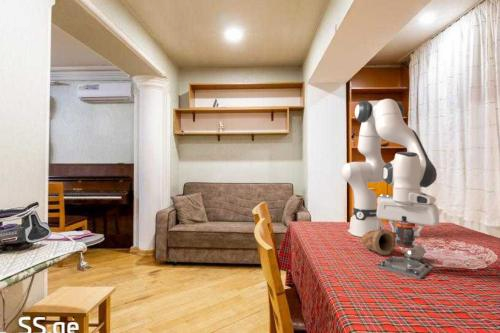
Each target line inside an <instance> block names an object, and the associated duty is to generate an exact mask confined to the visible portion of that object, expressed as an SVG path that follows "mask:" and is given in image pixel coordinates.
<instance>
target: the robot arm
mask: <svg viewBox="0 0 500 333" xmlns="http://www.w3.org/2000/svg"><path fill="white" fill-rule="evenodd" d="M404 112H405V107H404V105H403V103H402V102H399V101H395V100H394V99H391V98H384V99H380V100H362V101H359V102H358V103H357V104H356V105H355V108H354V116H355V119H356V121H357V122H359V123H361V124H360V127H359V128H360V129H359V134H358V142H357V151H358V152H359V153H360V154H361V155H363V156H364V157H365V161H351V162H346V163H345V164H344V165H343V166H342V168H341V175H342V178H343V179H344V181H346V182H347V183H348V184H349V186H350V187H351V189H352V192H353V193H352V194H353V201H354V203H353V209H352V216H351V217H350V224H349V228H348V229H347V232H348V233H349V234H350V235H353V236H356V237H358V238H359V237H360V238H362V236H363V235H364V234H365V233H366V232H369V231H372V230H378V229H379V230H382V229H384V226H383V225H384V224H383V221H382V220H387V221H388V224H389V226H390V227H391V228H392V229H391V233H392V234H393V233H394V234H396V230H397V226H396V225H395V223H396V222H397V221H402V219H401V218H402V216H406V217H407V220H406V221H408V222H409V223H415V225H416V224H417V228H418V229H417V230H415V231H414V236H415V237H418V238H419V237H420V236H421V231H422V230H423V228H424V226H430V227H436V226H438V225H439V224H440V212H439V208H438V206H437V204H435V203H437V202H436V201H437V200H436V197H435V196H432V195H430V194H427V193H424V192H421V190H422V189H421V188H428V187H429V186H430V187H431V185H433V184H434V183H435V182H436V181H437V175H438V174H437V169H436V167H435V165H434V164H433V162H432V161H431V159H430V158H429V157H428V154H427V152H426V150H425V148H424V146H423V143H422V142H421V140H420V138H419V136H418V133H417V132H416V131H415V130H414V129H412V128H411V127H409V126H408V125H407V124H406V122H405V120H404V119H403V117H404V114H405V113H404ZM382 140H384V141H387V142H390V143H395V144H398V145H401V146H403V147H404V148H406V149H407V150H408V151H398V152H396V153H395V155H394V157H393V158H394V159H392V160H391V161H388V162H385V161H384V159H383V157H382V153H381V152H382V151H381V148H382V147H381V146H382ZM382 182H385V183H386V184H387V185H390V186H392V194H385V193H384V194H380V195H378V197H377V194H376V193H375V191H373V190H372V189H370V188H369V186H368V183H382Z"/></svg>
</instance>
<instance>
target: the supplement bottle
mask: <svg viewBox="0 0 500 333" xmlns="http://www.w3.org/2000/svg"><path fill="white" fill-rule="evenodd" d="M401 219H402V221H396V228H397V230H396V233H395V235H396V236H395V241H396V243H395V246H398V247H399V248H403V249H411V248H414V247H415V246H416V245H415V244H416V238H415V237H416V236H414V231H416V224H415V223H409V222H408V221H406V220H407V217H406V216H402V218H401Z"/></svg>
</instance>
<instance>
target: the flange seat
mask: <svg viewBox="0 0 500 333" xmlns="http://www.w3.org/2000/svg"><path fill="white" fill-rule="evenodd" d="M425 253H426V254H427V251H426V249H425V248H424V247H423V246H421V245H415V247H414V248H409V249H408V250H406V251H405V252H404V255H403V257H397V256H396V255H392V256H390V257H388V258H387V259H385V260H384V261H382V262H380V263H378V264H377V266H376V268H378V269H382V270H384V271H388V272H392V273H396V274H400V275H403V276H408V277H411V278H415V279H417V280H421V279H422V278H423V277H425V275H427V274H428V273H429V272H430V271H431V270H432V269H433V266H432V265H430V264H429V263H426V262H424V264H423V263H422V262H421V260H422V259H424V258H423V256H424V254H425Z"/></svg>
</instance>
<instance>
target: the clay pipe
mask: <svg viewBox="0 0 500 333" xmlns="http://www.w3.org/2000/svg"><path fill="white" fill-rule="evenodd" d="M360 238H361V240H360V241H361V242H362V244H363V245H365V247H366V248H367V249H368V250H371V252H374V253H378V254H379V255H381V256H388V255H390V254H392V252H393V251H394V250H395V247H396V236H395V235H394V234H393V232H392V231H389V230H388V229H384V228H383V229H382V230H379V229H378V230H372V231H369V232H366V233H365V234H364V235H363V236H362V237H360Z"/></svg>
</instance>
